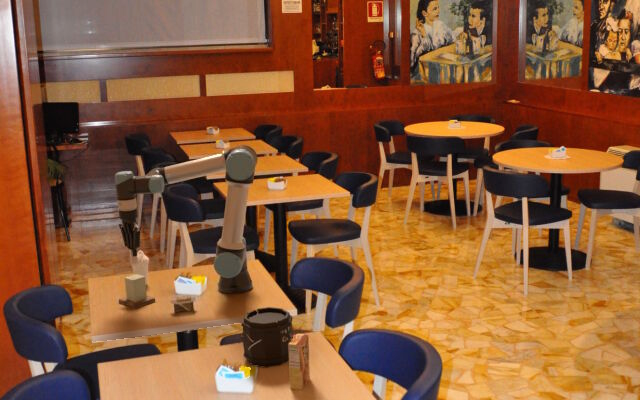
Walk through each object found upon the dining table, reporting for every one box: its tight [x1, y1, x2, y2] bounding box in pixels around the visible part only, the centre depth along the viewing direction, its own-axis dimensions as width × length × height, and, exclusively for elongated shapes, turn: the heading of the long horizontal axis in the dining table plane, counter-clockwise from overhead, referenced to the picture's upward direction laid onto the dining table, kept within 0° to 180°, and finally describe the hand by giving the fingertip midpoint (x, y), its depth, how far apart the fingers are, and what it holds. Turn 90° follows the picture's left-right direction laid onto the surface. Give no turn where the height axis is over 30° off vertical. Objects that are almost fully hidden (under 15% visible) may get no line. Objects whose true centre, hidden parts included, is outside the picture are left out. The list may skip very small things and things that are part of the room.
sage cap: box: [124, 274, 148, 302], centre depth 336 cm, size 6×6×10 cm
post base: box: [118, 295, 156, 309], centre depth 336 cm, size 12×10×8 cm
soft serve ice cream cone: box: [130, 249, 150, 285], centre depth 358 cm, size 8×8×16 cm
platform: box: [170, 295, 197, 313], centre depth 323 cm, size 12×18×7 cm, turn 105°
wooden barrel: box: [240, 306, 294, 368], centre depth 274 cm, size 18×18×16 cm
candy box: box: [288, 333, 311, 391], centre depth 254 cm, size 9×4×15 cm, turn 163°
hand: (134, 263), depth 333 cm, fingers closed
